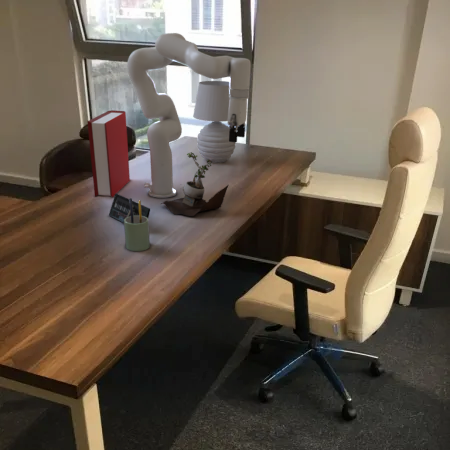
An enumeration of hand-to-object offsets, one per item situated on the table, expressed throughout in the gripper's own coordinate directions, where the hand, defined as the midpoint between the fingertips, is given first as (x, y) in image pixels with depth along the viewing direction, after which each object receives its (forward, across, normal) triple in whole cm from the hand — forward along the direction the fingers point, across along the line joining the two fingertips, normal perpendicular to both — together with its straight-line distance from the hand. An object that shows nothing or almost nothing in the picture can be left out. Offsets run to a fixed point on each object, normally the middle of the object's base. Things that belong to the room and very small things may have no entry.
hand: (236, 139), depth 206 cm
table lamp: (+30, -71, -34) cm, 85 cm away
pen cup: (+29, +51, -18) cm, 62 cm away
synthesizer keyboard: (+30, +33, -32) cm, 54 cm away
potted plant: (+29, +7, -16) cm, 34 cm away
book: (+30, -4, -60) cm, 68 cm away
